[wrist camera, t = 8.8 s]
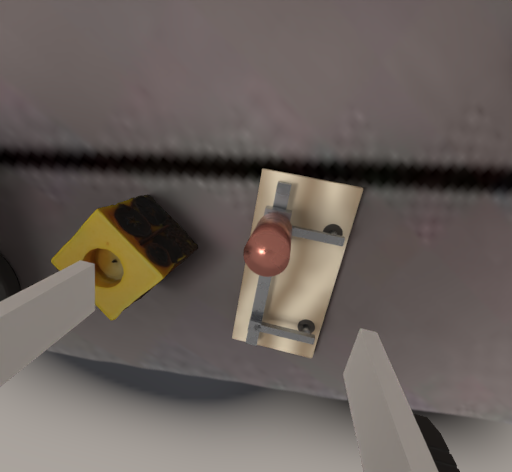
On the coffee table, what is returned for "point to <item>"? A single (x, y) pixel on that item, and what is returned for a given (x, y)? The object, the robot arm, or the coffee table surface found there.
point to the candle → (127, 251)
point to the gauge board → (300, 259)
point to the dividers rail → (262, 292)
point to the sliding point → (279, 241)
